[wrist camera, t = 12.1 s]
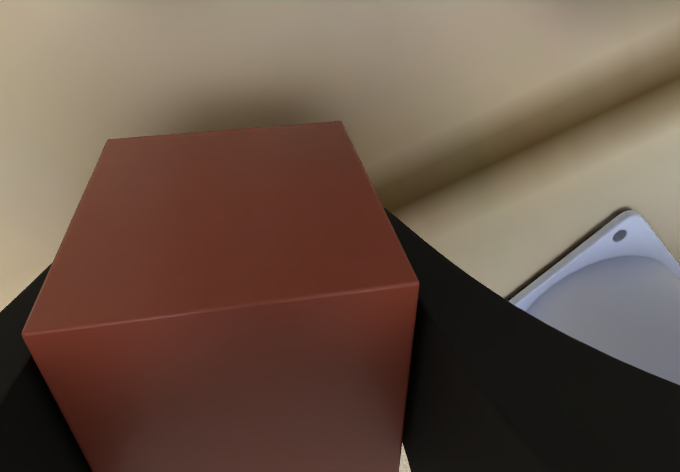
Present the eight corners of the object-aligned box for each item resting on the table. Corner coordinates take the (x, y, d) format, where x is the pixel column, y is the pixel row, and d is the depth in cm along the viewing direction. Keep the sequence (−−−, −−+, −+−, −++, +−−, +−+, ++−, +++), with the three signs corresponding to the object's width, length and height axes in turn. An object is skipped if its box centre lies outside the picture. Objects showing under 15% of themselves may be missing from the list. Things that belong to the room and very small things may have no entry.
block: (342, 289, 13) (399, 483, 9) (157, 313, 12) (123, 535, 8) (342, 119, 10) (420, 282, 6) (107, 138, 9) (17, 334, 5)
